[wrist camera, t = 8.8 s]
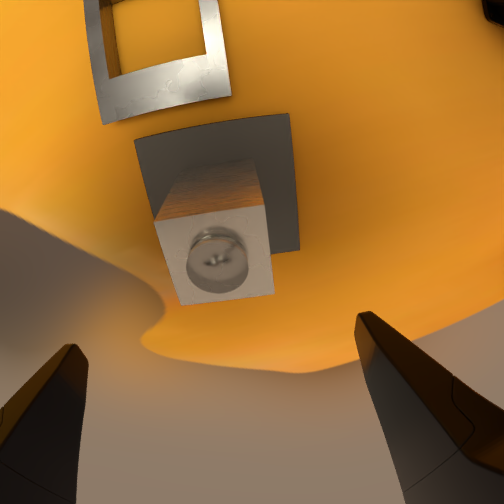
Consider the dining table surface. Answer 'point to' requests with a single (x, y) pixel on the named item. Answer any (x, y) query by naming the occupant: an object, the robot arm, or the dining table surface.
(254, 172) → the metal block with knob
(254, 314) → the dining table surface
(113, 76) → the grey metal frame
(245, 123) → the mat
